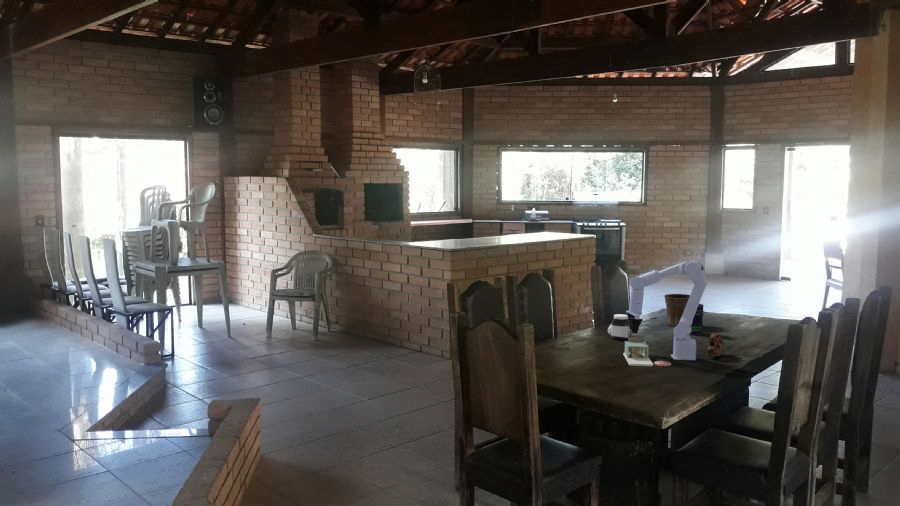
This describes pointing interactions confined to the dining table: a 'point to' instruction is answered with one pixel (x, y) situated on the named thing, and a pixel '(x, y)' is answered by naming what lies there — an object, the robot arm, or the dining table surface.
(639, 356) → the block
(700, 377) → the dining table surface
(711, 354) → the wooden carving
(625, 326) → the spread jar
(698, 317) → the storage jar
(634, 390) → the dining table surface
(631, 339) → the pale green open box
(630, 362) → the board
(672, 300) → the plant pot
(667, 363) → the coaster
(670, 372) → the dining table surface
